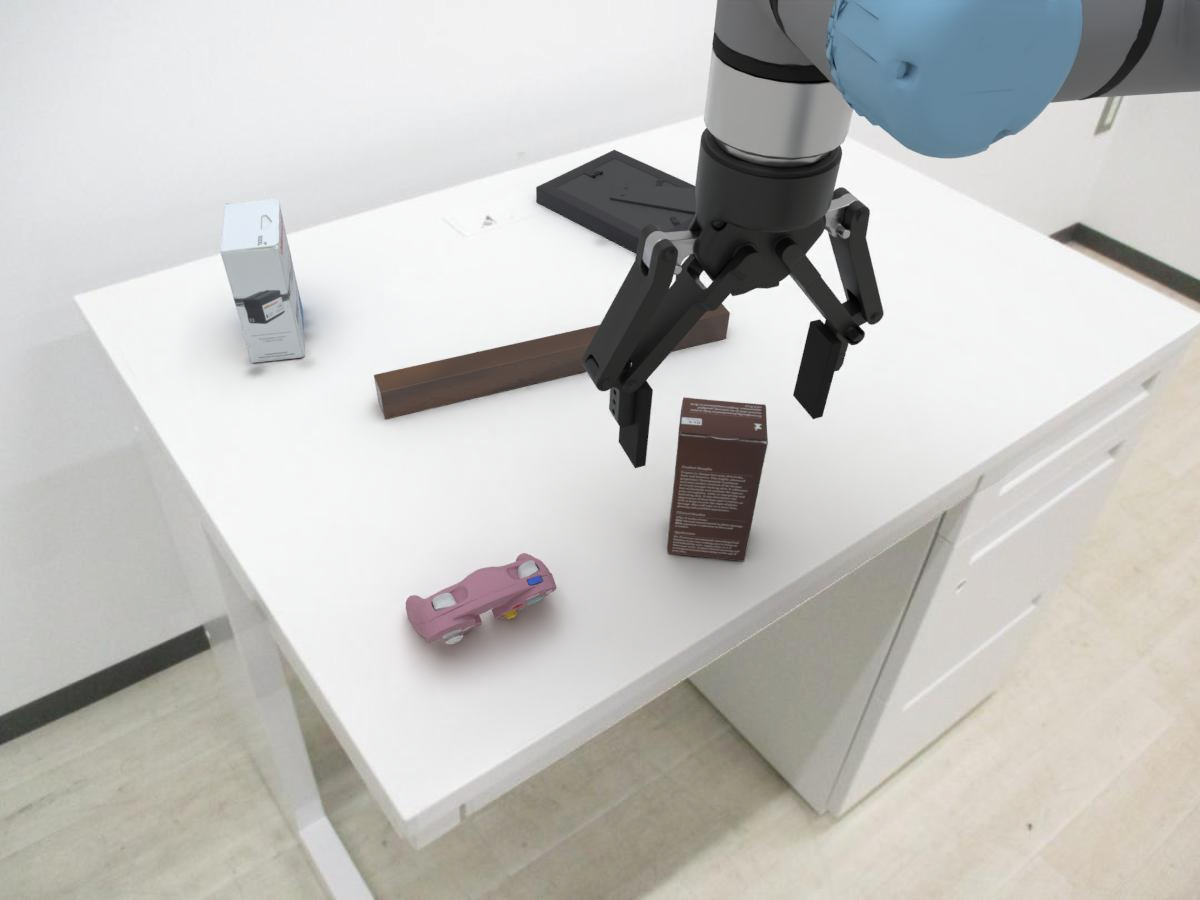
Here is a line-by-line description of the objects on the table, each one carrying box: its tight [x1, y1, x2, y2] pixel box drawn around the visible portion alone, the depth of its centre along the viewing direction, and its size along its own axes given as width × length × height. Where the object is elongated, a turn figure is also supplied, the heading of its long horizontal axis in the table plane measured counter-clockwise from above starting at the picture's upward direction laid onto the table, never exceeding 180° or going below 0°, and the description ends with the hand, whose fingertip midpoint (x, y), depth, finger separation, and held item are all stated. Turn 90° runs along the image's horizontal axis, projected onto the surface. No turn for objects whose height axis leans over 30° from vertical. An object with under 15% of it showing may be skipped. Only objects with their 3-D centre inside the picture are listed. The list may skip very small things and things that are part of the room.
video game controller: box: [405, 552, 558, 645], centre depth 64 cm, size 10×5×7 cm, turn 118°
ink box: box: [219, 198, 306, 363], centre depth 85 cm, size 8×5×12 cm, turn 13°
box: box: [666, 397, 769, 562], centre depth 68 cm, size 6×4×12 cm
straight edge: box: [373, 303, 731, 420], centre depth 85 cm, size 2×33×3 cm, turn 113°
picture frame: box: [535, 149, 696, 254], centre depth 107 cm, size 13×2×18 cm
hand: (722, 429), depth 65 cm, fingers open, 13 cm apart
